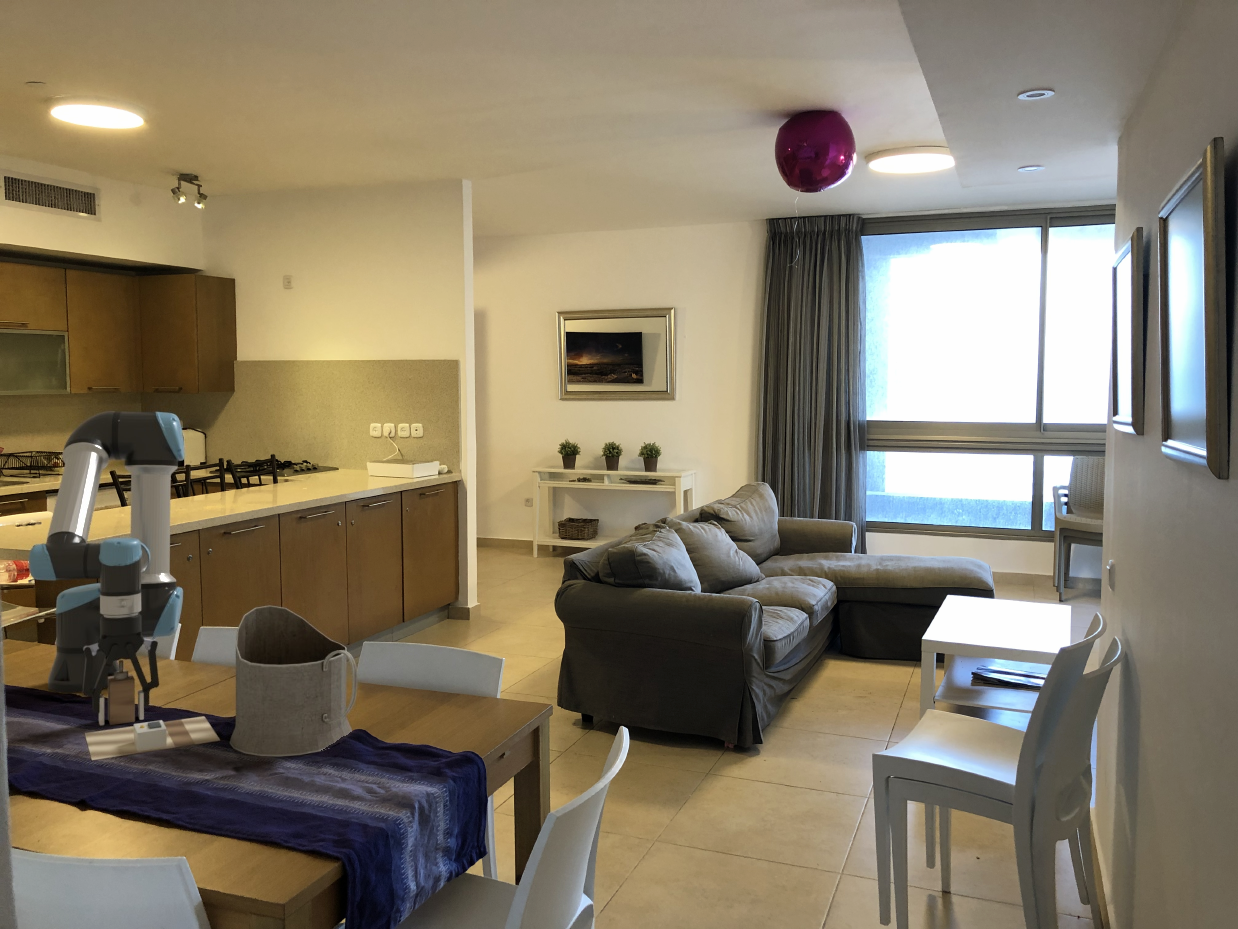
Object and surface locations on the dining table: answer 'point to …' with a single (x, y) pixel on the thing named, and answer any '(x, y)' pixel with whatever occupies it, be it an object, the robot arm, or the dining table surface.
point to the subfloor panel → (123, 744)
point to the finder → (150, 735)
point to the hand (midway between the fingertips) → (121, 725)
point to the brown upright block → (121, 697)
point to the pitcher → (288, 685)
